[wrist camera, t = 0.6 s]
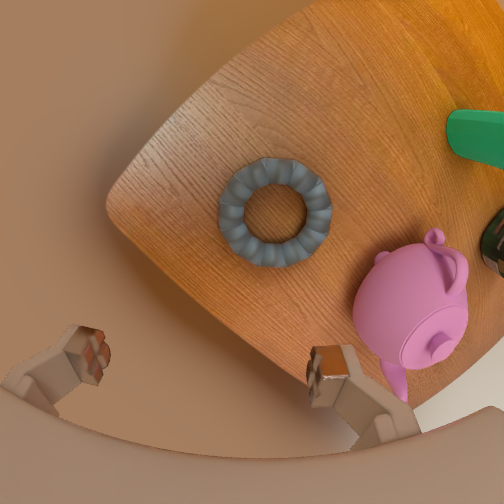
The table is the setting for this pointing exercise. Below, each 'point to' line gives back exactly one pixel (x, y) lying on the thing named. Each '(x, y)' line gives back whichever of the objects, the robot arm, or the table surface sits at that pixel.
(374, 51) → the table surface
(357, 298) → the teapot
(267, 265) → the ring
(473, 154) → the candle
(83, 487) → the robot arm
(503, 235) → the coffee jar
